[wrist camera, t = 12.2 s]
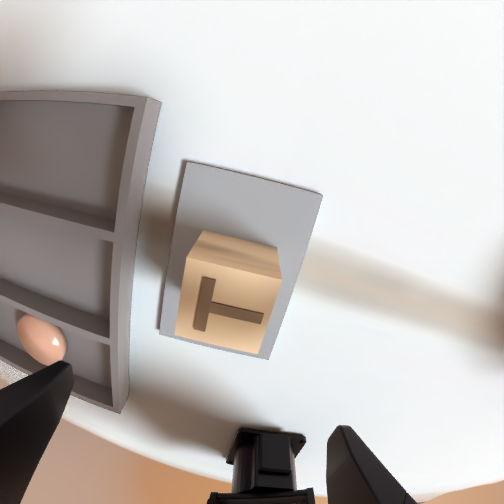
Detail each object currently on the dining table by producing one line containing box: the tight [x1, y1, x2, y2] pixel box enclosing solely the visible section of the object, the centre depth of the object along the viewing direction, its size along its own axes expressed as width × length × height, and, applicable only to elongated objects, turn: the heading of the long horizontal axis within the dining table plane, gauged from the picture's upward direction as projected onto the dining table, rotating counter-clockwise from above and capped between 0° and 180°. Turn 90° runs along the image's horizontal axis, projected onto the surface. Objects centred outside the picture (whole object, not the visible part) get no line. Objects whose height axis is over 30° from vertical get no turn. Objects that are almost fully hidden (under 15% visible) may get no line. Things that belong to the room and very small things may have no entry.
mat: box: [159, 162, 323, 360], centre depth 20 cm, size 12×8×1 cm, turn 166°
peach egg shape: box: [17, 313, 68, 366], centre depth 21 cm, size 5×5×1 cm
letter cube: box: [174, 230, 282, 354], centre depth 17 cm, size 4×4×5 cm
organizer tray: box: [0, 91, 162, 414], centre depth 19 cm, size 23×16×2 cm
